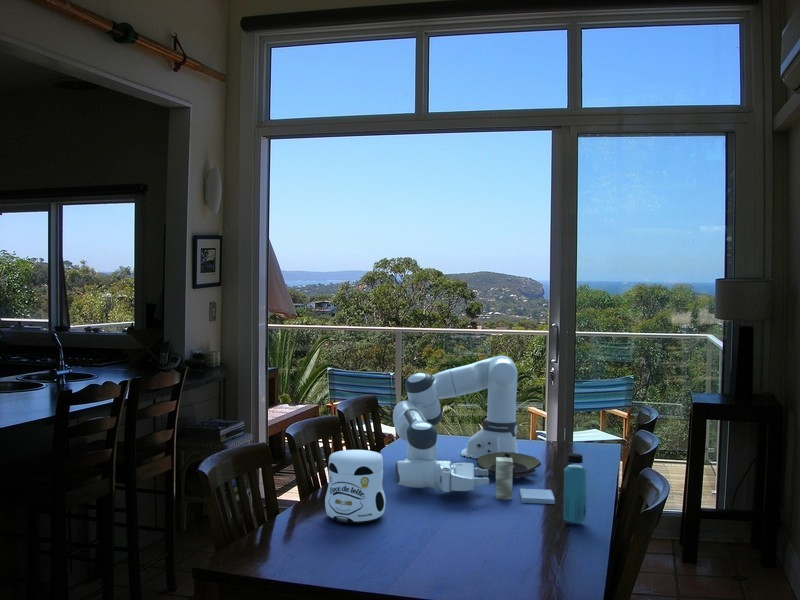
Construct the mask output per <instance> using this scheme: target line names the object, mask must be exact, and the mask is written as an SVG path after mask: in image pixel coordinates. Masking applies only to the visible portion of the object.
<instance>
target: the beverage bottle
mask: <svg viewBox="0 0 800 600" xmlns="http://www.w3.org/2000/svg"><path fill="white" fill-rule="evenodd" d="M567 456H568V457H567V463H568V462H569V463H570V464H568V465H566V467H565V468H563V507H562V517H563V519H564V520H565V521H567V522H570V523H578V524H579V523H583V522H586V519H587V500H588V499H587V493H588V492H587V469H585V467H584V466H582V465H579V464H582V463H583V461H584V460H583V454H582V453H581V454H580V453H576V452H575V453H573V452H572V453H568V455H567Z"/></svg>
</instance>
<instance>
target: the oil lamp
mask: <svg viewBox="0 0 800 600" xmlns="http://www.w3.org/2000/svg"><path fill="white" fill-rule="evenodd" d="M496 457H503V458H504V457H507V458H512V461H513V475H512V480H513V479H515V478H522V477H525V476H528V475H530V474H533V473H535V472H537V471H538V469H537V468H538V467H540V466H541V465H542V462H541V461H540V460H539V459H538V458H537V457H535V456H532V455H530V454H529V455H527V454H524V453H520V452H518V453H514V452H499V453H491V454H486V455H483V456H481V457H479V458H478V459H476V466H477V468H480V469H487V470H488V474H490V475H491V476H492V475H493V476H495V477H496Z"/></svg>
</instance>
